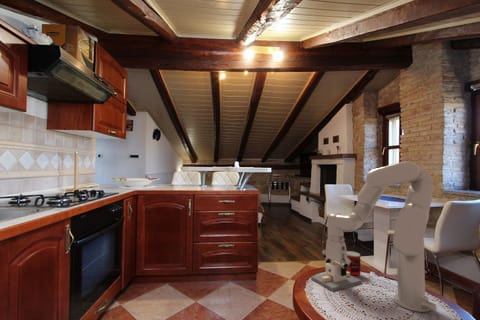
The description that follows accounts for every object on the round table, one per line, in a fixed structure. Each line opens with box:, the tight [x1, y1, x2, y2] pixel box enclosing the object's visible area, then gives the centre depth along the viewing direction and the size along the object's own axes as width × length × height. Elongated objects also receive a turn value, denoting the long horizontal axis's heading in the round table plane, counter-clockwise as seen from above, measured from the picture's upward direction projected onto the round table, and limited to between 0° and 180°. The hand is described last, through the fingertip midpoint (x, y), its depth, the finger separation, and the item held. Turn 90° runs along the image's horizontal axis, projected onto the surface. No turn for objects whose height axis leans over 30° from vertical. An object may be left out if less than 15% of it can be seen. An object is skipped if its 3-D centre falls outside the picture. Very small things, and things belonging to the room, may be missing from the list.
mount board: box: [310, 271, 363, 292], centre depth 121 cm, size 14×20×3 cm
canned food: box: [346, 250, 362, 277], centre depth 131 cm, size 8×8×11 cm
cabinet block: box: [325, 261, 346, 282], centre depth 121 cm, size 6×9×7 cm
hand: (335, 272), depth 121 cm, fingers open, 9 cm apart
